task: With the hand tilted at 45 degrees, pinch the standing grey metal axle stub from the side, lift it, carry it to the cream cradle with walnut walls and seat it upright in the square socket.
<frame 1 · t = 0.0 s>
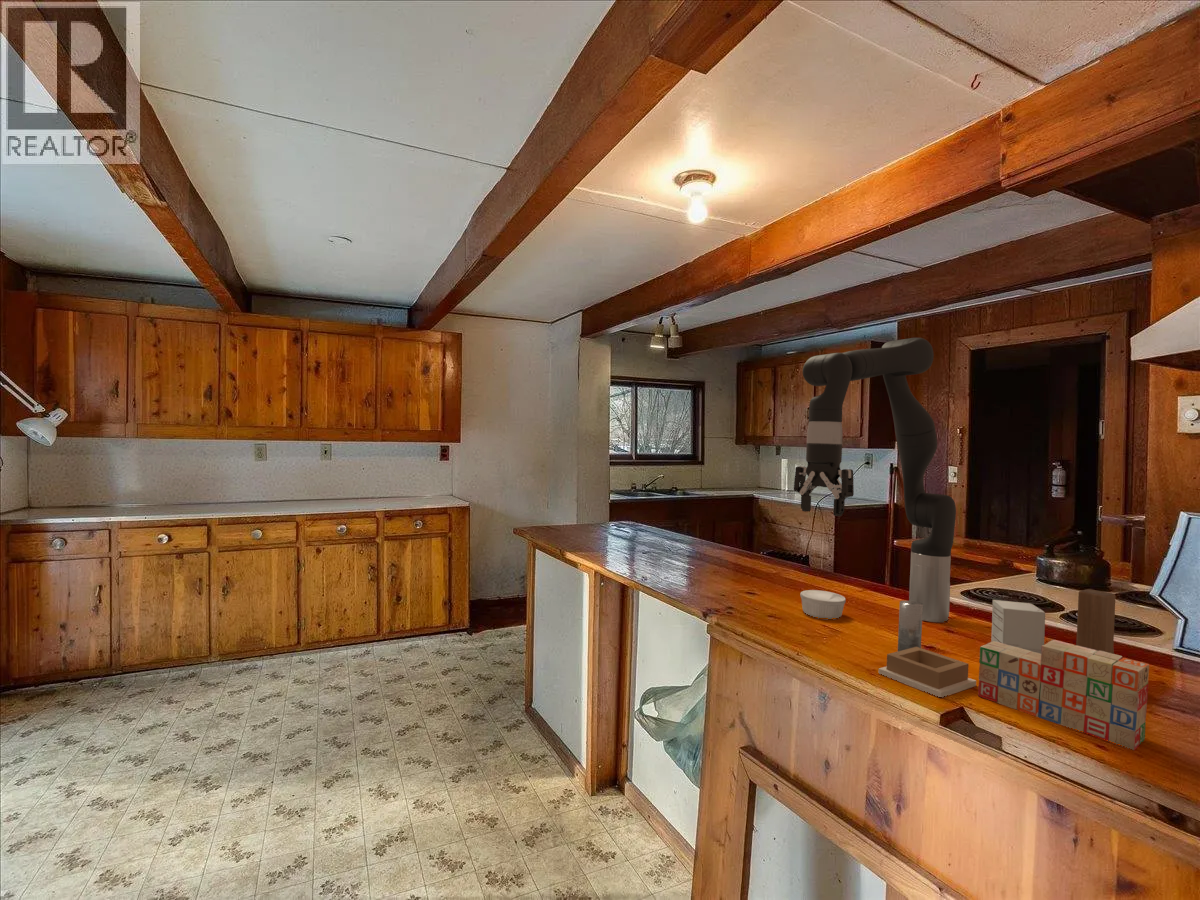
hand: (821, 513, 129), 29 cm above the table, tool pointing down, fingers open, 8 cm apart
stack of blocks: (1055, 718, 96), on the table
supplement box: (1015, 666, 119), on the table
ramekin: (821, 615, 152), on the table
cradle: (926, 679, 110), on the table
axle: (909, 653, 124), on the table
wooden block: (1097, 683, 112), on the table
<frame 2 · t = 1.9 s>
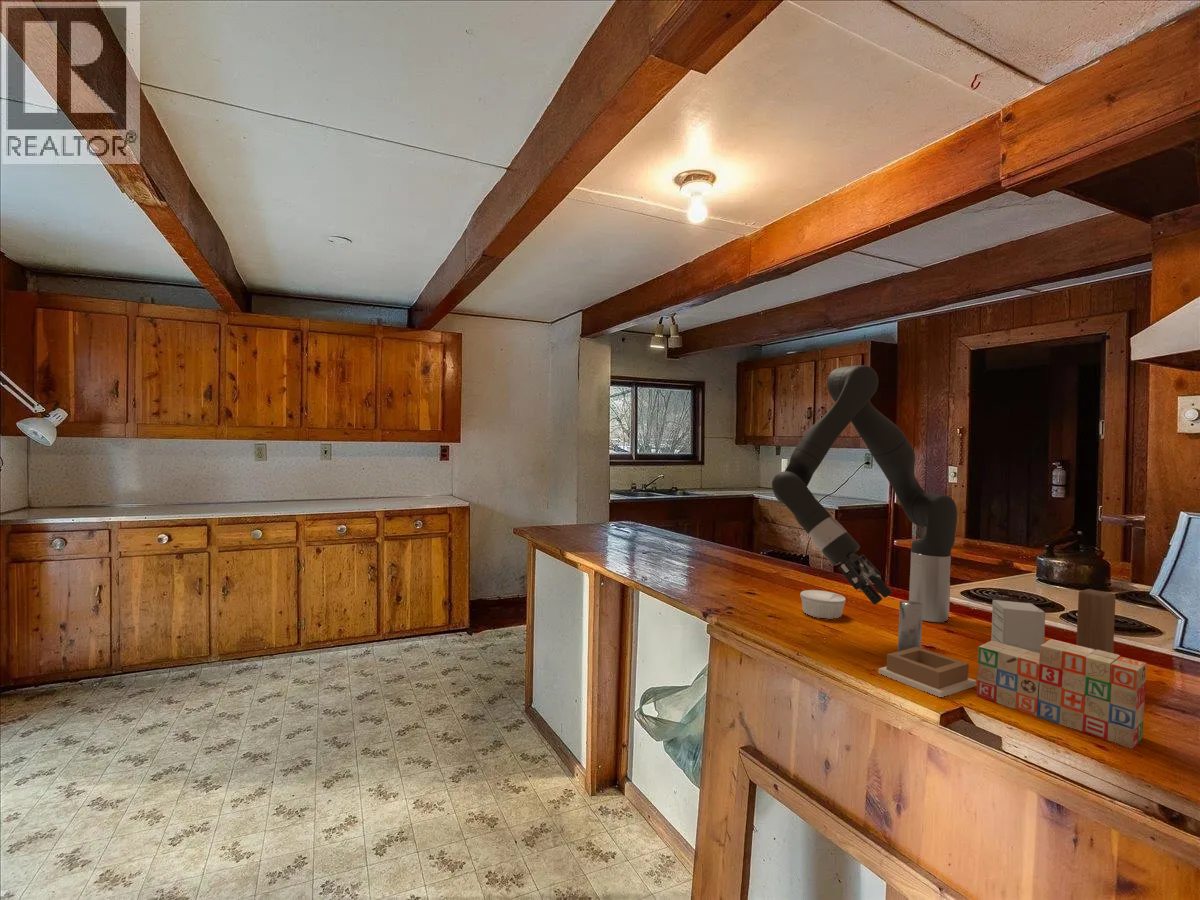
hand: (883, 598, 127), 11 cm above the table, tool tilted 45°, fingers open, 8 cm apart
nothing on the table moved.
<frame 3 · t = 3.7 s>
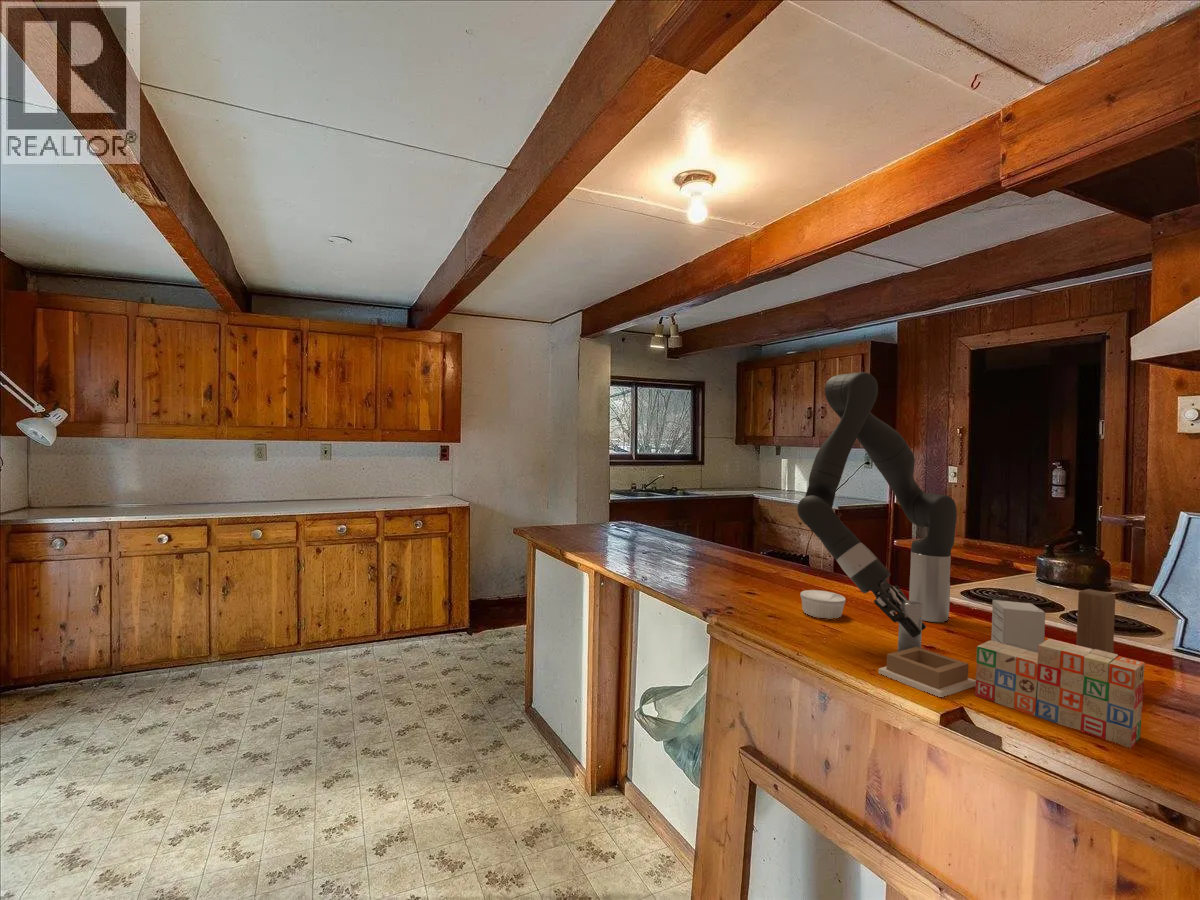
hand: (919, 632, 123), 5 cm above the table, tool tilted 45°, fingers closed on axle, 4 cm apart
axle: (909, 653, 124), on the table, touching gripper
everything else where it was.
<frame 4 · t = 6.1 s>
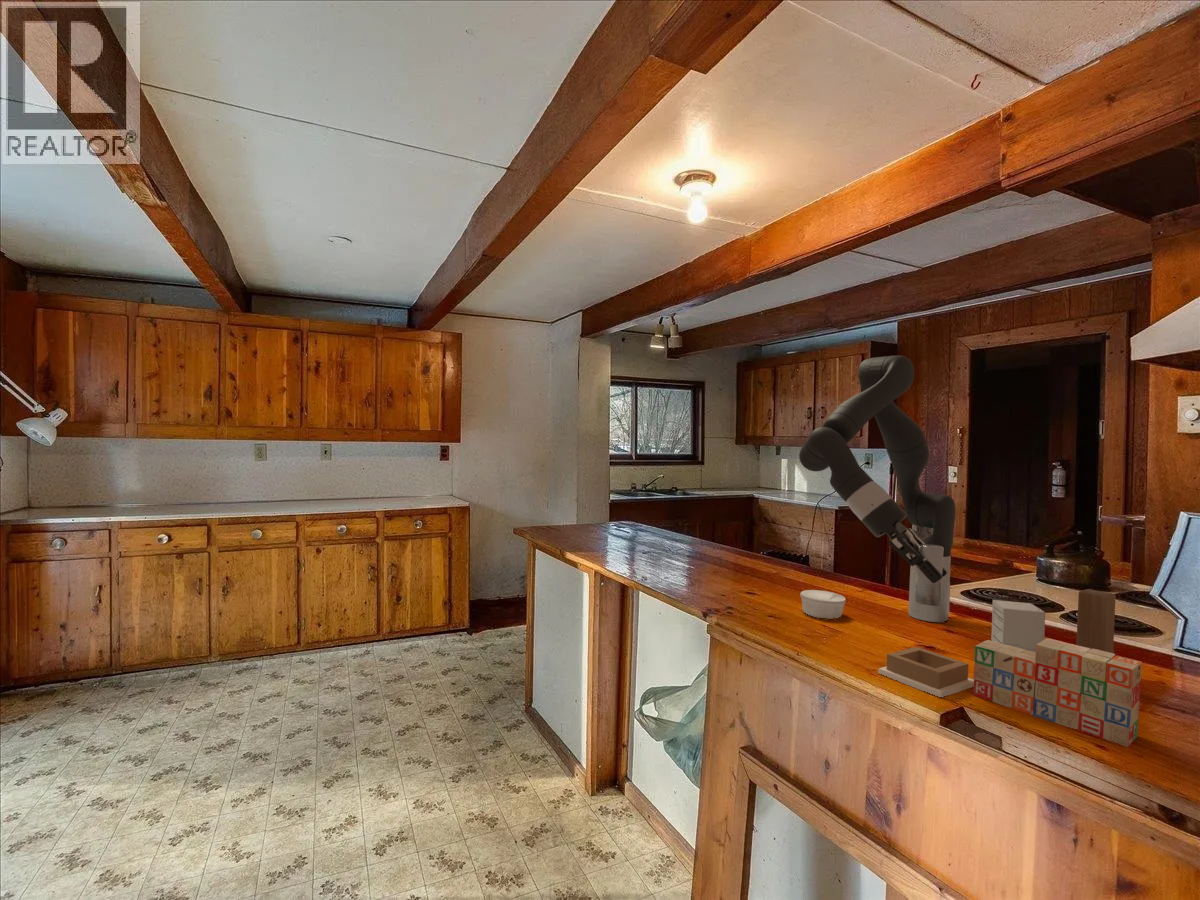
hand: (940, 578, 109), 20 cm above the table, tool tilted 45°, fingers closed on axle, 4 cm apart
axle: (927, 602, 110), point 15 cm above the table, touching gripper
everything else where it was.
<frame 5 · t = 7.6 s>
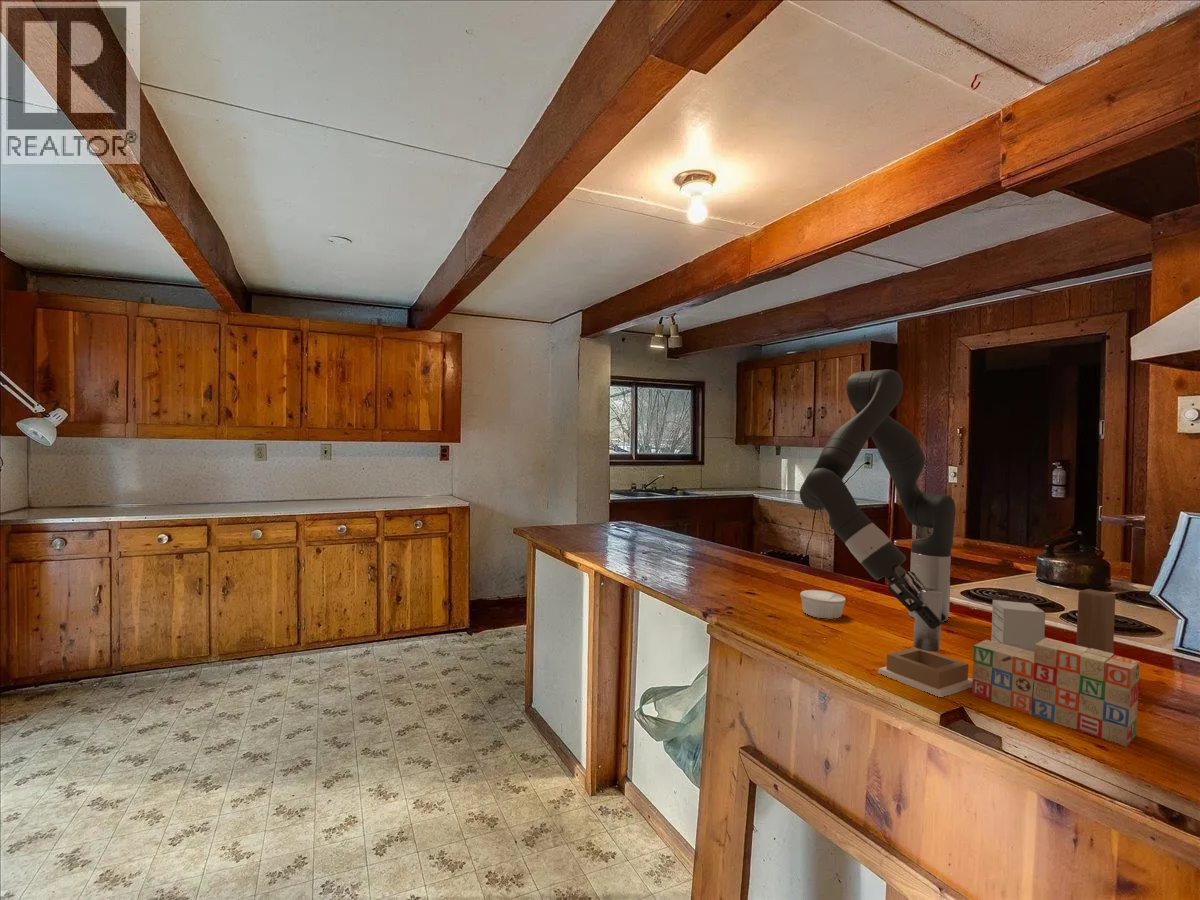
hand: (939, 623, 108), 11 cm above the table, tool tilted 45°, fingers closed on axle, 4 cm apart
axle: (926, 647, 110), point 6 cm above the table, touching gripper
when the fingers open (7 cm above the table, at t = 8.8 s): axle drops 1 cm, resting on cradle.
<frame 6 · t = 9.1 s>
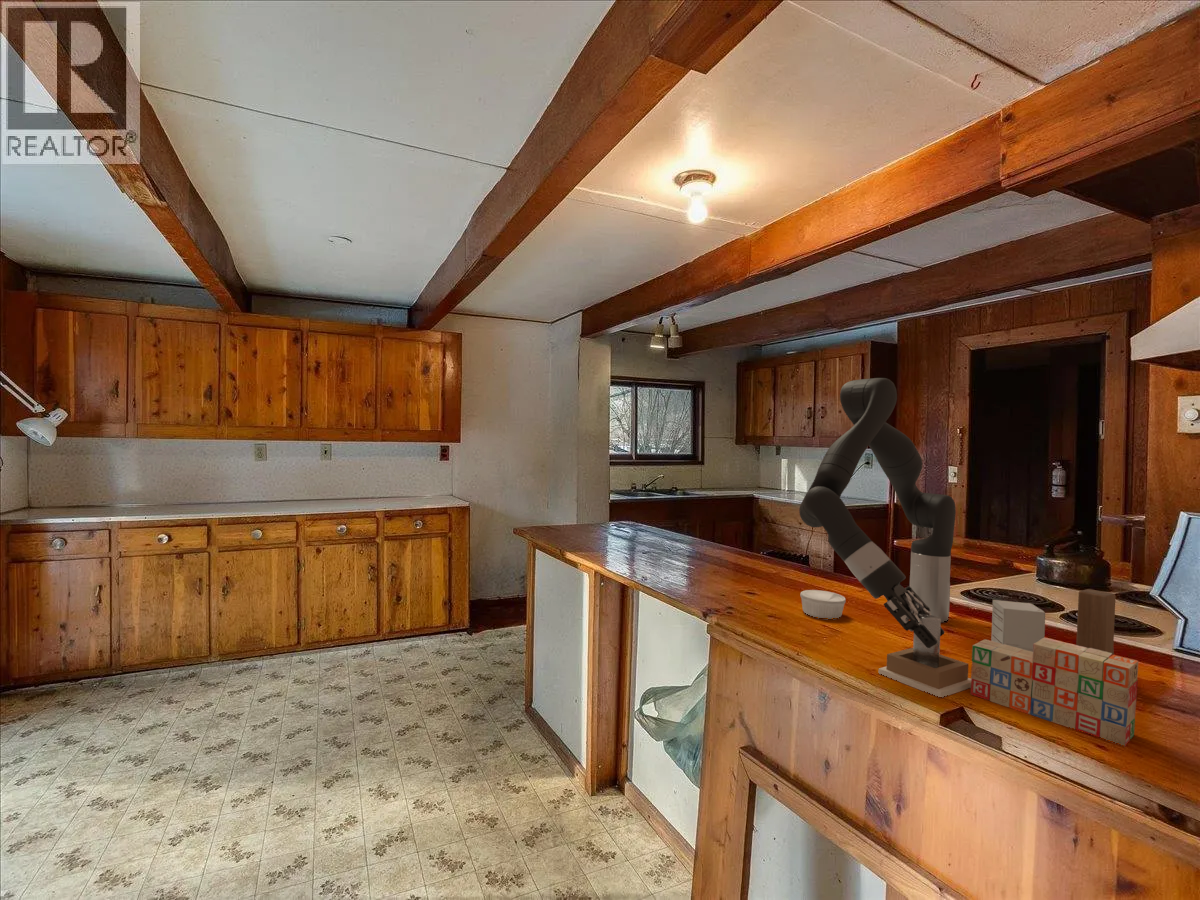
hand: (937, 640, 109), 8 cm above the table, tool tilted 45°, fingers open, 7 cm apart
axle: (925, 674, 110), point 1 cm above the table, touching cradle
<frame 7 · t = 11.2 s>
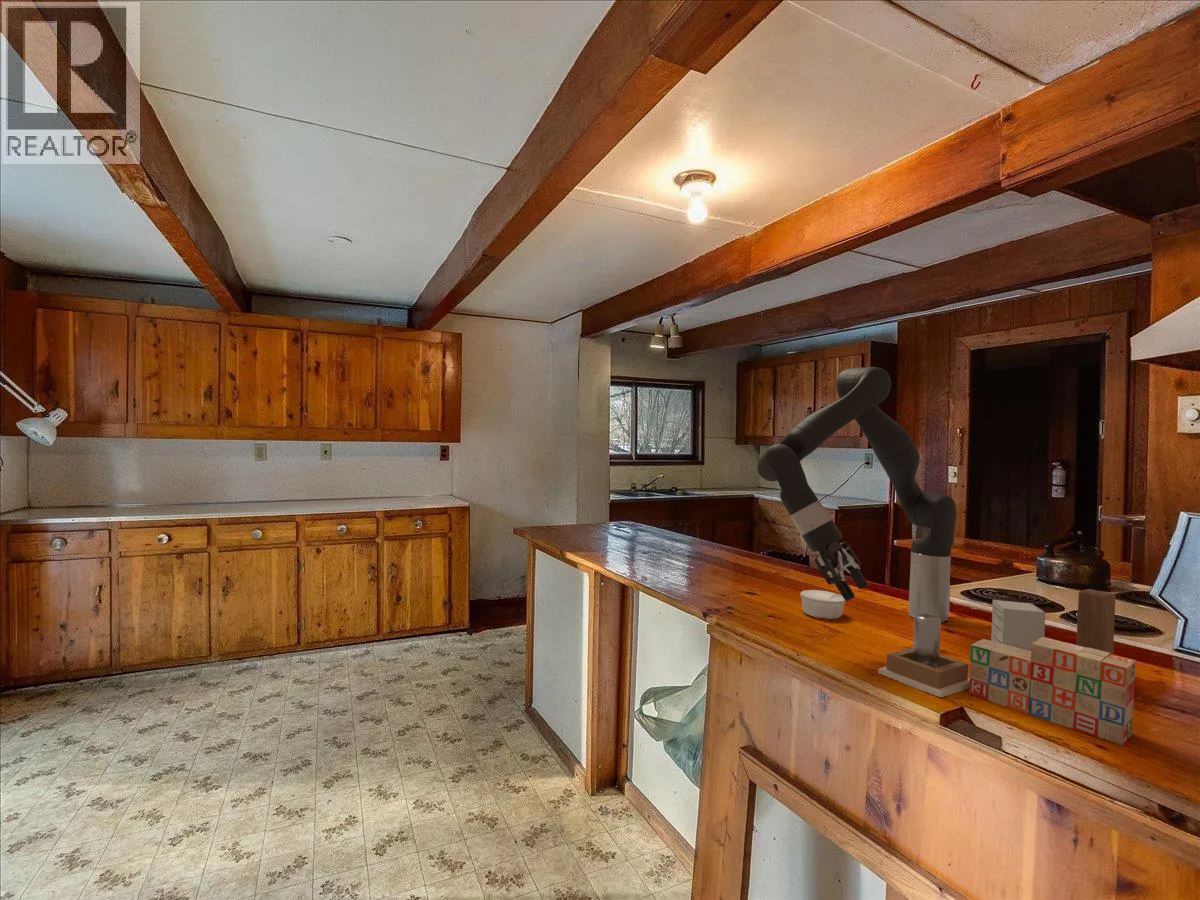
hand: (857, 593, 122), 13 cm above the table, tool tilted 35°, fingers open, 8 cm apart
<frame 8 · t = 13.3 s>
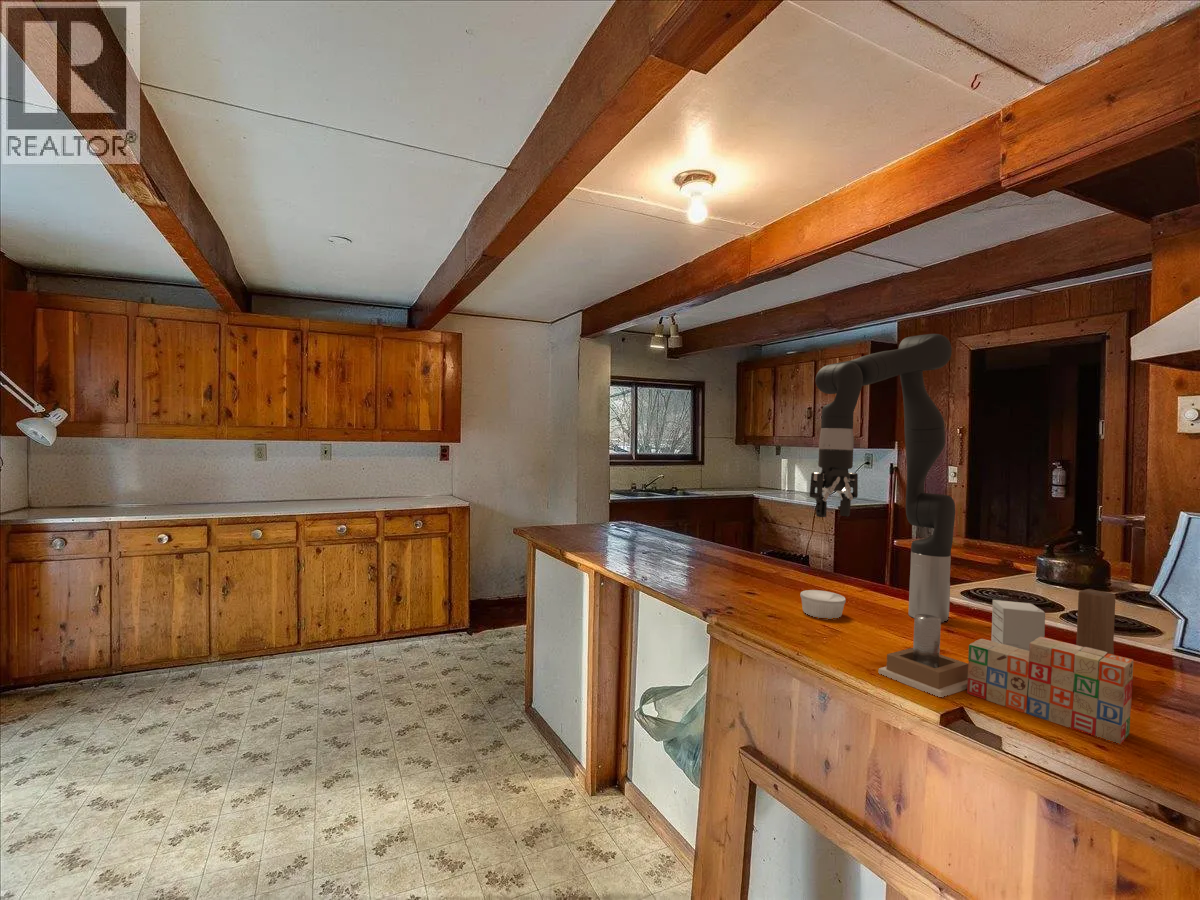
hand: (833, 516, 134), 28 cm above the table, tool pointing down, fingers open, 8 cm apart
at the end: axle 0.2 cm off-centre on the cradle, point 1.0 cm above the cradle's base; axle tilted 0°; the gripper is holding nothing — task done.
